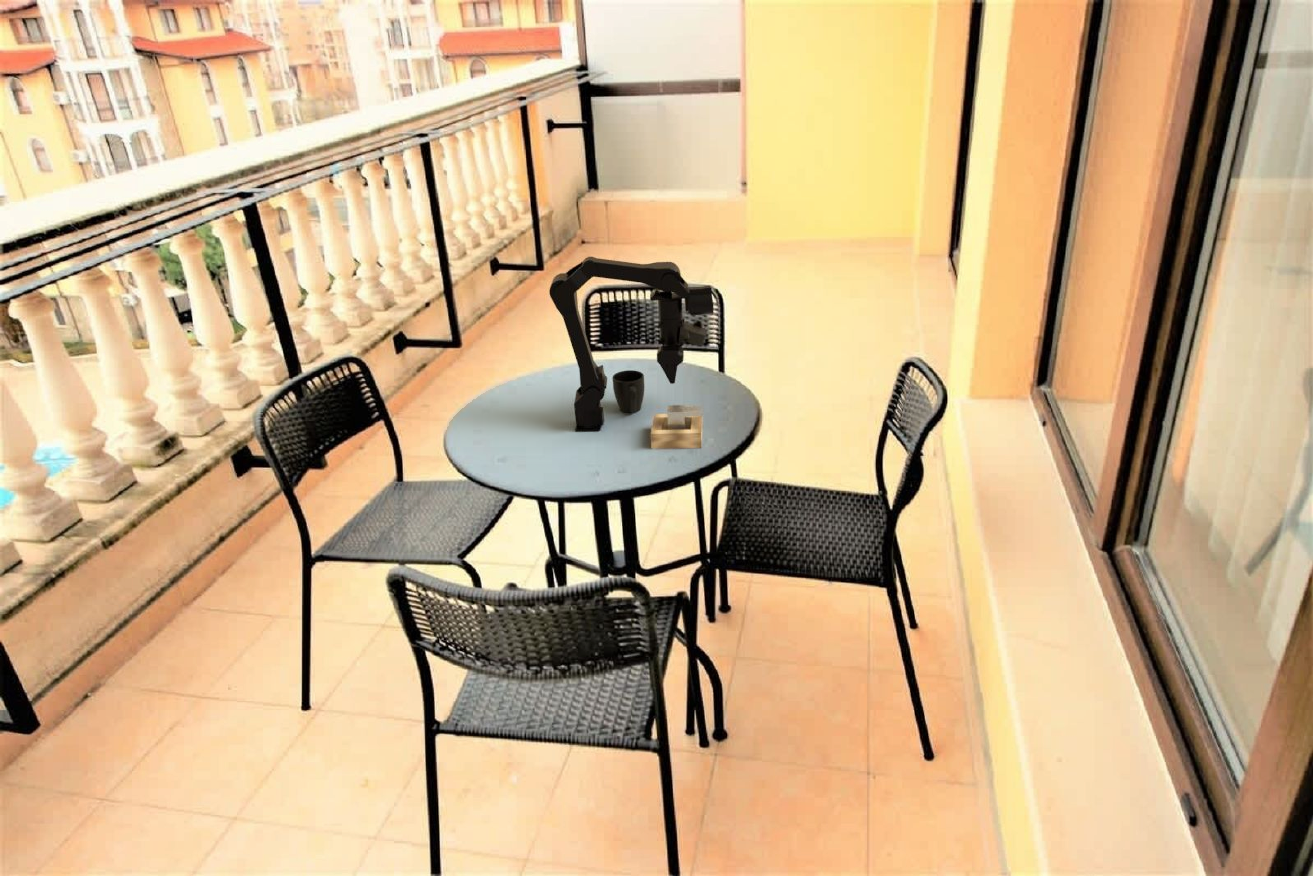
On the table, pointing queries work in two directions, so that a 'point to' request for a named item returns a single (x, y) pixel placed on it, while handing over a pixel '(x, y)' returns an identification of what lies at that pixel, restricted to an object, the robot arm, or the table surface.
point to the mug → (629, 390)
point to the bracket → (681, 415)
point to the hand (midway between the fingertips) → (673, 376)
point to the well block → (676, 433)
